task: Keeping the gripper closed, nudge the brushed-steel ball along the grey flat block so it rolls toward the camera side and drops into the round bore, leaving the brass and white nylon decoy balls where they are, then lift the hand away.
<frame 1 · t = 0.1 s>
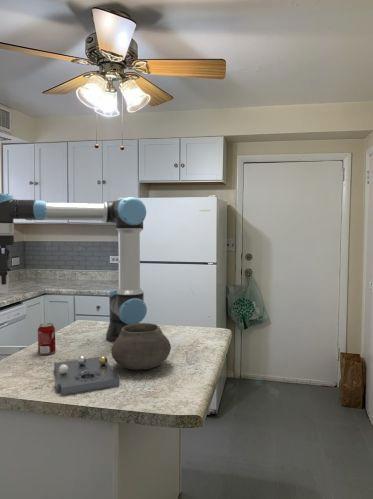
hand: (4, 290, 147), 28 cm above the counter, fingers open, 13 cm apart
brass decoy: (103, 360, 139), point 4 cm above the counter, touching grey flat block
soda can: (46, 353, 159), on the counter
steel ball: (81, 360, 139), point 4 cm above the counter, touching grey flat block
grey flat block: (84, 377, 133), on the counter
nylon decoy: (63, 369, 130), point 4 cm above the counter, touching grey flat block
clay pot: (141, 367, 144), on the counter
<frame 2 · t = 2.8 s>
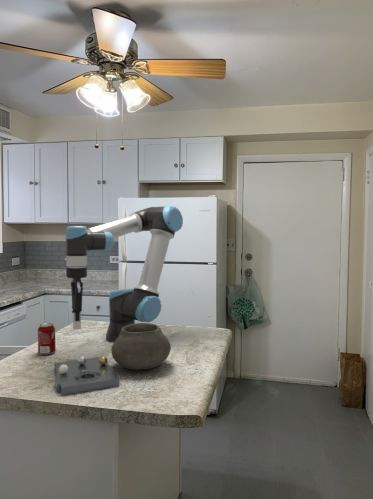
hand: (76, 328, 146), 14 cm above the counter, fingers closed
nothing on the counter moved.
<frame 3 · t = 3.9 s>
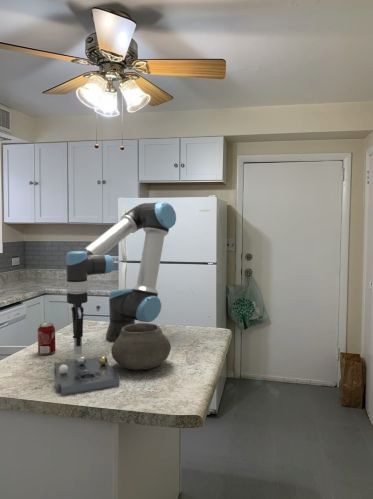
hand: (78, 353, 147), 4 cm above the counter, fingers closed
nothing on the counter moved.
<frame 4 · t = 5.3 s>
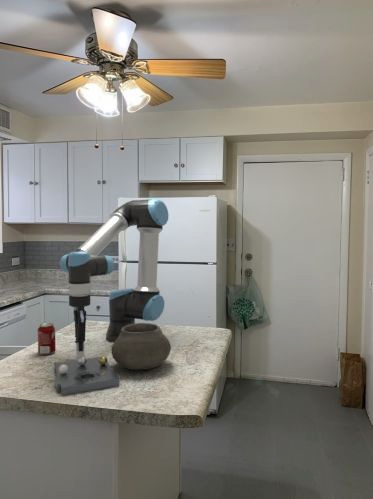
hand: (80, 359, 140), 4 cm above the counter, fingers closed
steel ball: (82, 361, 138), point 4 cm above the counter, tilted 27°, touching gripper, grey flat block
everything else where it was.
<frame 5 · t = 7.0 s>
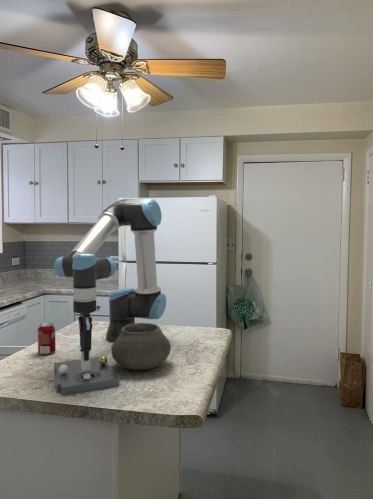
hand: (85, 368, 130), 4 cm above the counter, fingers closed
steel ball: (87, 378, 128), point 2 cm above the counter, tilted 70°
everything else where it was.
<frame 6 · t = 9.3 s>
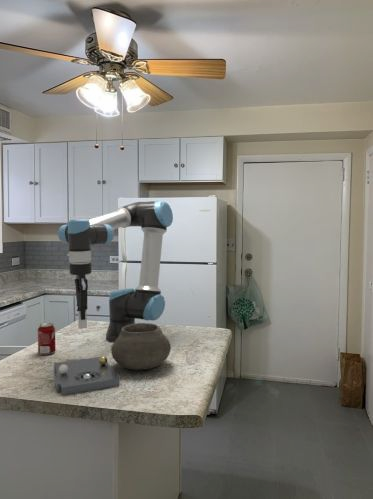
hand: (82, 327, 139), 16 cm above the counter, fingers closed
steel ball: (87, 378, 128), point 2 cm above the counter, tilted 76°
everything else where it was.
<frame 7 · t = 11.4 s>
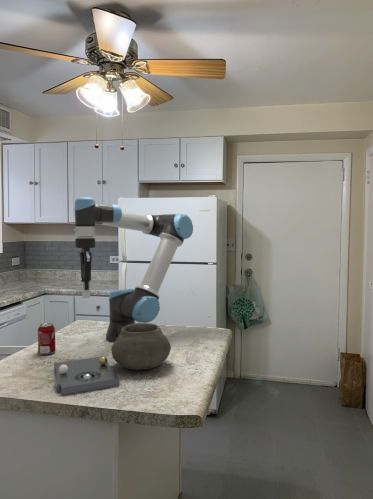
hand: (86, 297, 151), 24 cm above the counter, fingers closed
nothing on the counter moved.
at the end: steel ball 0.4 cm from the target spot, point 1.6 cm above the counter; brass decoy moved 0.0 cm from its start; nylon decoy moved 0.0 cm from its start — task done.
